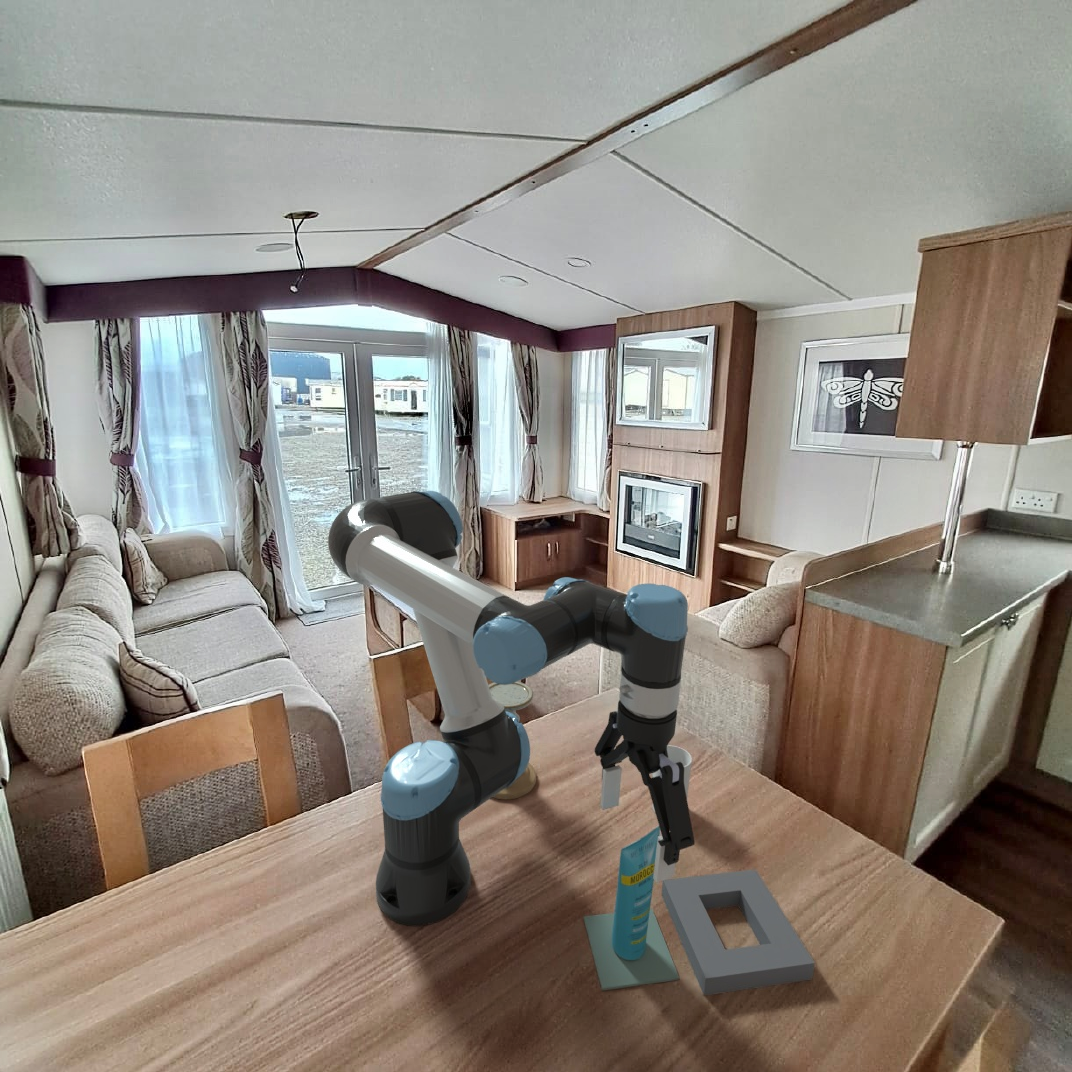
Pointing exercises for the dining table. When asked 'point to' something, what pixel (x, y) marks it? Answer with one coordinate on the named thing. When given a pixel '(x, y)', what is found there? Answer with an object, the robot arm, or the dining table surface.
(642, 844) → the tube
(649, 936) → the coaster
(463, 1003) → the dining table surface
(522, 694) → the candle holder
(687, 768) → the mug
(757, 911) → the socket board
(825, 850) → the dining table surface
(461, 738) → the robot arm
